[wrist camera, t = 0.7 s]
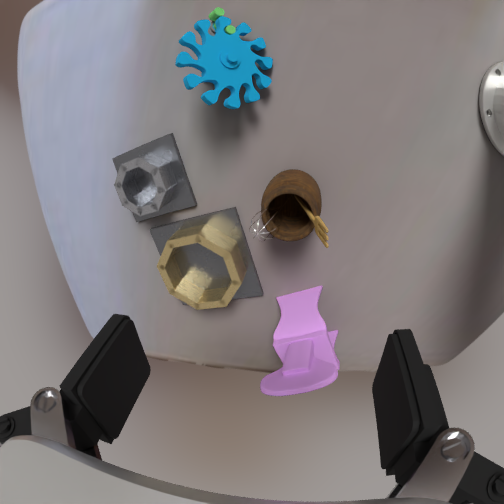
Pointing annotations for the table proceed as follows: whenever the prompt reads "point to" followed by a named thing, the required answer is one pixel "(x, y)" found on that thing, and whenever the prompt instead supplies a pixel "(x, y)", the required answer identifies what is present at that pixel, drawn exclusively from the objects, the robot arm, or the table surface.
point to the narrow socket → (153, 179)
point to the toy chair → (302, 347)
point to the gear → (224, 60)
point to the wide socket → (206, 260)
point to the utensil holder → (292, 207)
